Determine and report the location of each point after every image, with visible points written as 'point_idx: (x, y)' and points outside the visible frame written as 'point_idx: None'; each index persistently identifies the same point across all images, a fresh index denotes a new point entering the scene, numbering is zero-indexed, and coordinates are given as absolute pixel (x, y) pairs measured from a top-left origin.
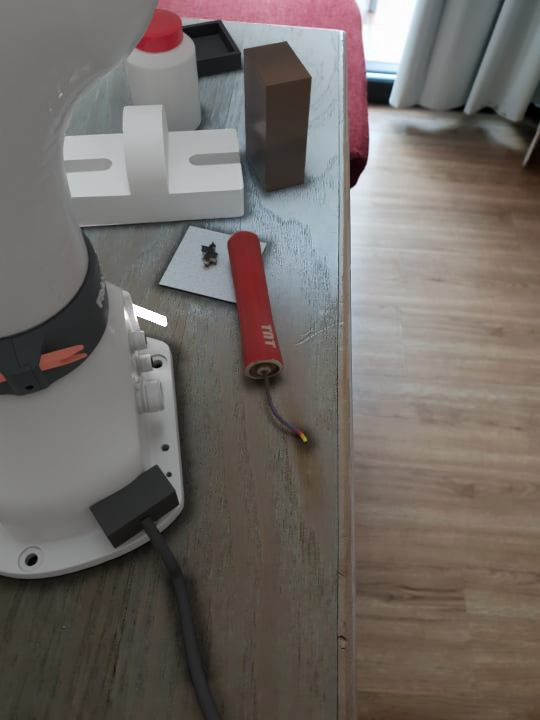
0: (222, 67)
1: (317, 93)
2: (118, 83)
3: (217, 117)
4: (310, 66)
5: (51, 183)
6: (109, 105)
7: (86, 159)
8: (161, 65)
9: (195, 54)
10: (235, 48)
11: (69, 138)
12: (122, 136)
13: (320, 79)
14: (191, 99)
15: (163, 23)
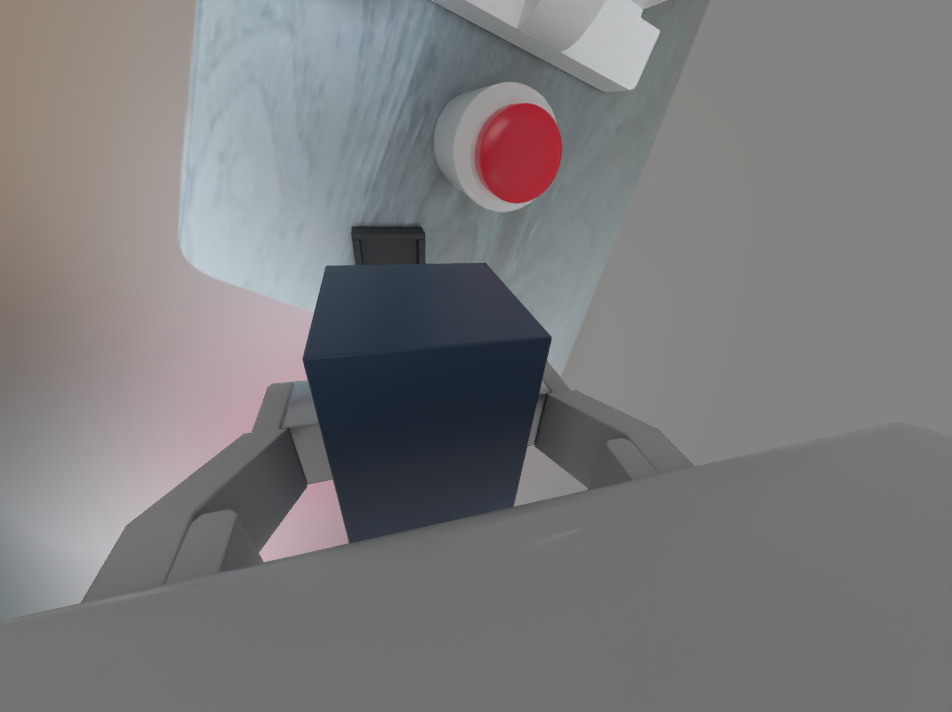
0: (380, 228)
1: (236, 115)
2: (505, 246)
3: (413, 119)
4: (239, 198)
5: None
6: (528, 205)
7: (633, 13)
8: (524, 87)
9: (456, 123)
10: (357, 246)
11: (629, 81)
12: (575, 50)
13: (225, 155)
14: (463, 96)
15: (511, 147)
